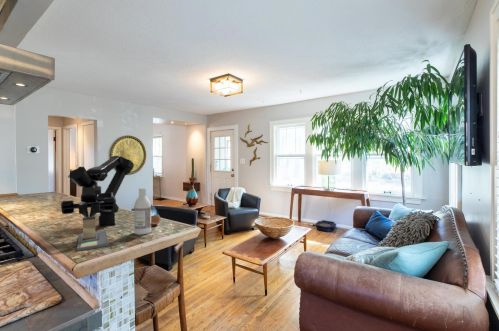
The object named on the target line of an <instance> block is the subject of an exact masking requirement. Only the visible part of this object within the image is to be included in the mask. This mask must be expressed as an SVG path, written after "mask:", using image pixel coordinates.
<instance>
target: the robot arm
mask: <svg viewBox="0 0 499 331" xmlns="http://www.w3.org/2000/svg"><path fill="white" fill-rule="evenodd" d="M134 166H135V164H134V162H133V161H132V160H130V159H127V158H125V157H123V156H121V155H113V156H110V158H108V159H107V160H106V161H105V162H104V161H103V163H102V164H100V165H97V166H93V167H91V168H89V169H87V170H86V168H85V167H84V166H78V167H77V168H76V169H74V170H72V171H71V172H70V173H69V175H68V177H69V178H70V180H71V181H72V182H73V183H75V184H76V185H77V186H78V187H81V194H80V201H79V202H78V203H74V200H73V199H72V200H63V201H61V203H60V208H61V214H62V215H68V214H69V215H70V214H73V213H74V212H75V210H78V214H80V215H82V216H83V218H84V217H94V216H95V215H96V214H99V215H98V226H100V228H101V227H108V226H115V225H116V217H115V216H116V213H118V212H119V208H120V207H119V205H118V204H117V199H116V195H117V193H118V191H119V189H120V187H121V185H122V183H123V181H124V179H125V178H126V175H128V174H130V173H131V172H132V170H133V168H134ZM114 169H115V173H114V175H113V176H112V178H111V181H110V182H109V184H108V186H107V188H106V190H105V191H104V192H102V186H101V185H100V186H99V185H98V182H104V181H105V179H106V178H107V177H108V176H109V175H108V174H109V173H110V172H111V171H112V170H114ZM89 209H90V212H89ZM95 217H96V216H95Z"/></svg>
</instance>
